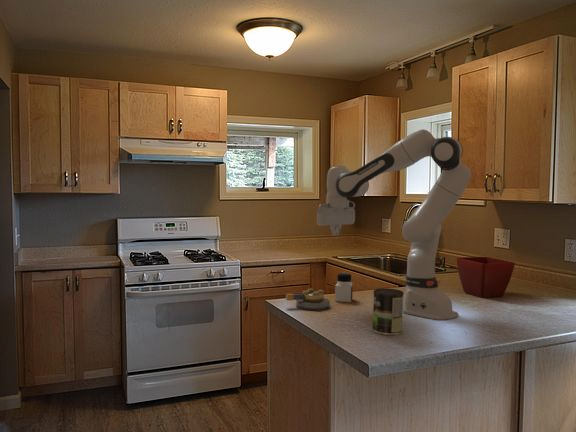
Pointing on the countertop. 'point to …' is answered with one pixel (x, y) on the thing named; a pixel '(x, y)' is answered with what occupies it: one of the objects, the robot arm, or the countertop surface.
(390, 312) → the coffee can
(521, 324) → the countertop surface
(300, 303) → the plate
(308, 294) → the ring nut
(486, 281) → the plant pot
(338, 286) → the medicine bottle
